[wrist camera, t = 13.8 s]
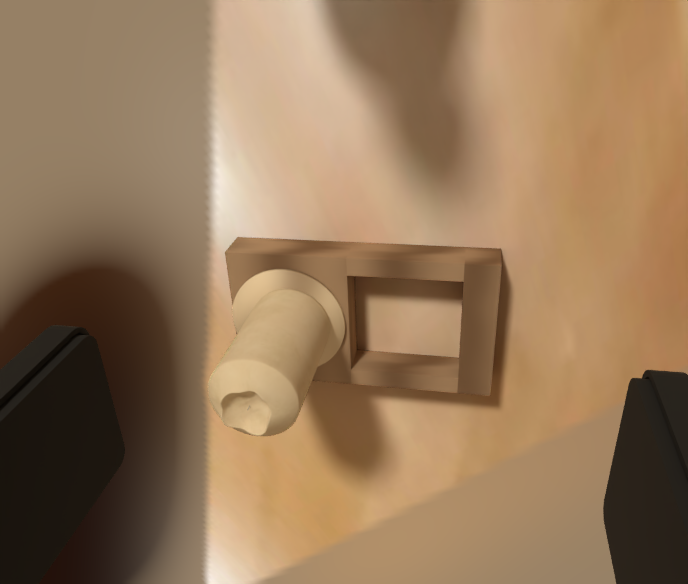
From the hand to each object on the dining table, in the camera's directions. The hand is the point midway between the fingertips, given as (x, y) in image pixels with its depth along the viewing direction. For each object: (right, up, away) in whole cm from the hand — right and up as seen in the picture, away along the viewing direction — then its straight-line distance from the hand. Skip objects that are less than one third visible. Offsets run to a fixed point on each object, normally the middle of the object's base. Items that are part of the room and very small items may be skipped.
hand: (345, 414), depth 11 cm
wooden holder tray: (+2, +1, +34) cm, 34 cm away
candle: (-4, 0, +33) cm, 33 cm away
